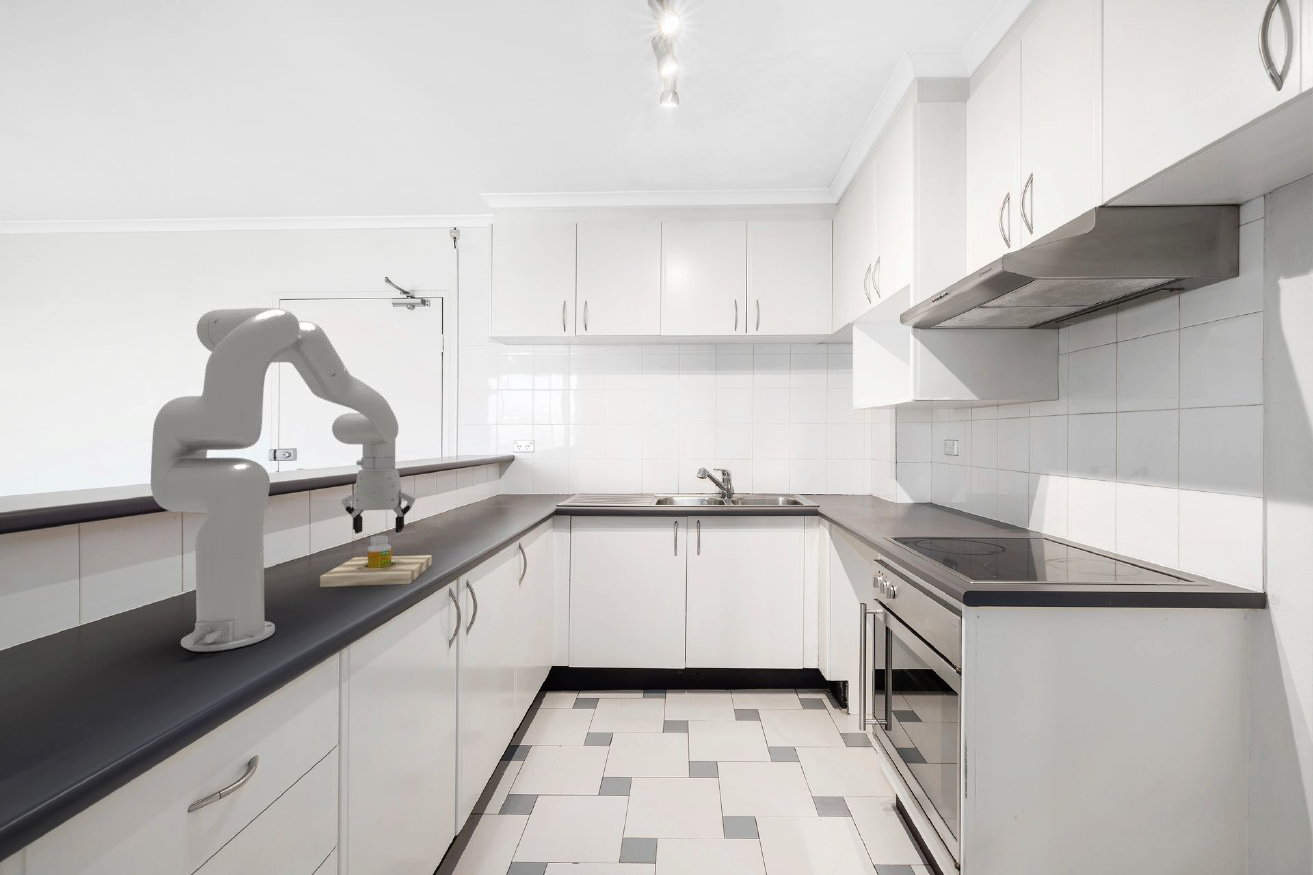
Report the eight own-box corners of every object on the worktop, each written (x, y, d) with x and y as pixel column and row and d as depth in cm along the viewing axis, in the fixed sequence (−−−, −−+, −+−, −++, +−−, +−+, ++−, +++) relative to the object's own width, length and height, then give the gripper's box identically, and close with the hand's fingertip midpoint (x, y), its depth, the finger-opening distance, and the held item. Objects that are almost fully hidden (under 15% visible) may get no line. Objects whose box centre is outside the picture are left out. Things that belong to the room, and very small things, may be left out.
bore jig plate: (409, 583, 136) (409, 573, 136) (320, 586, 133) (320, 576, 133) (431, 564, 156) (431, 555, 156) (354, 566, 153) (354, 557, 153)
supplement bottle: (382, 578, 141) (381, 539, 141) (363, 577, 142) (362, 538, 142) (396, 572, 147) (395, 535, 146) (377, 571, 148) (377, 534, 148)
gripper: (336, 465, 139) (335, 535, 139) (410, 464, 142) (410, 533, 141) (348, 464, 147) (348, 530, 147) (419, 463, 149) (418, 529, 149)
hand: (378, 532), depth 144 cm, fingers open, 9 cm apart
